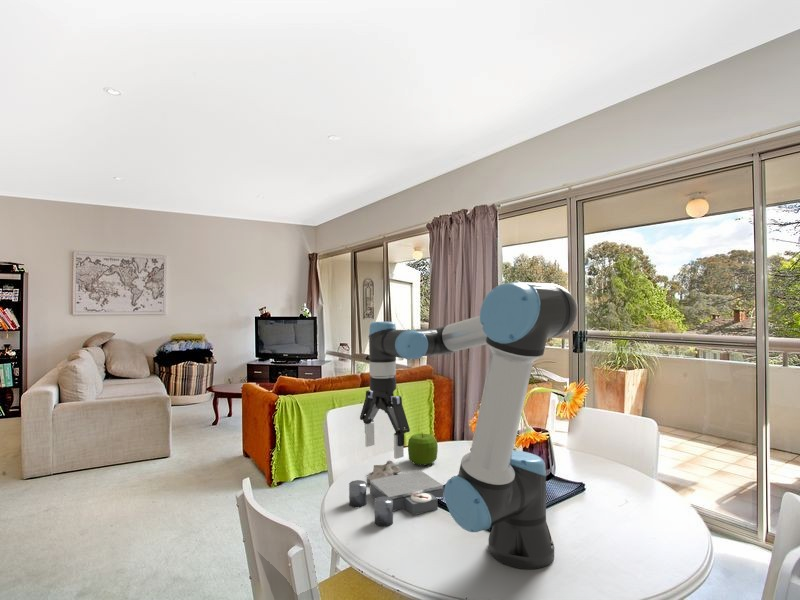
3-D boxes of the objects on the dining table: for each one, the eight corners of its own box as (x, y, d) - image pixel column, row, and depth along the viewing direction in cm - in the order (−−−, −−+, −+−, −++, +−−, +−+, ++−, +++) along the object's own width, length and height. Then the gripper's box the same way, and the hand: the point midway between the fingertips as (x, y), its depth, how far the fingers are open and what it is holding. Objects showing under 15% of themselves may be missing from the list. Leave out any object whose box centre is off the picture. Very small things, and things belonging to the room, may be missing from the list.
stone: (394, 488, 146) (394, 476, 146) (365, 487, 148) (365, 474, 148) (402, 471, 161) (401, 460, 161) (375, 470, 162) (375, 459, 162)
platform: (443, 487, 137) (443, 485, 137) (389, 500, 129) (389, 497, 129) (420, 472, 150) (420, 470, 150) (369, 482, 142) (369, 480, 142)
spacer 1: (368, 505, 134) (368, 484, 134) (352, 509, 131) (352, 488, 131) (362, 498, 138) (362, 479, 138) (346, 502, 136) (346, 482, 136)
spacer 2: (396, 524, 122) (396, 502, 122) (379, 528, 120) (378, 505, 120) (388, 516, 126) (388, 495, 126) (371, 520, 124) (371, 498, 124)
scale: (453, 506, 133) (453, 493, 133) (397, 519, 124) (397, 506, 124) (420, 482, 150) (420, 471, 150) (369, 493, 142) (369, 481, 142)
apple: (435, 469, 162) (434, 438, 162) (405, 466, 165) (405, 436, 165) (439, 458, 173) (439, 429, 173) (411, 456, 175) (411, 428, 175)
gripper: (422, 380, 122) (423, 459, 122) (368, 370, 141) (369, 438, 141) (400, 383, 117) (401, 466, 117) (347, 372, 136) (348, 443, 136)
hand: (383, 451), depth 129 cm, fingers open, 13 cm apart
